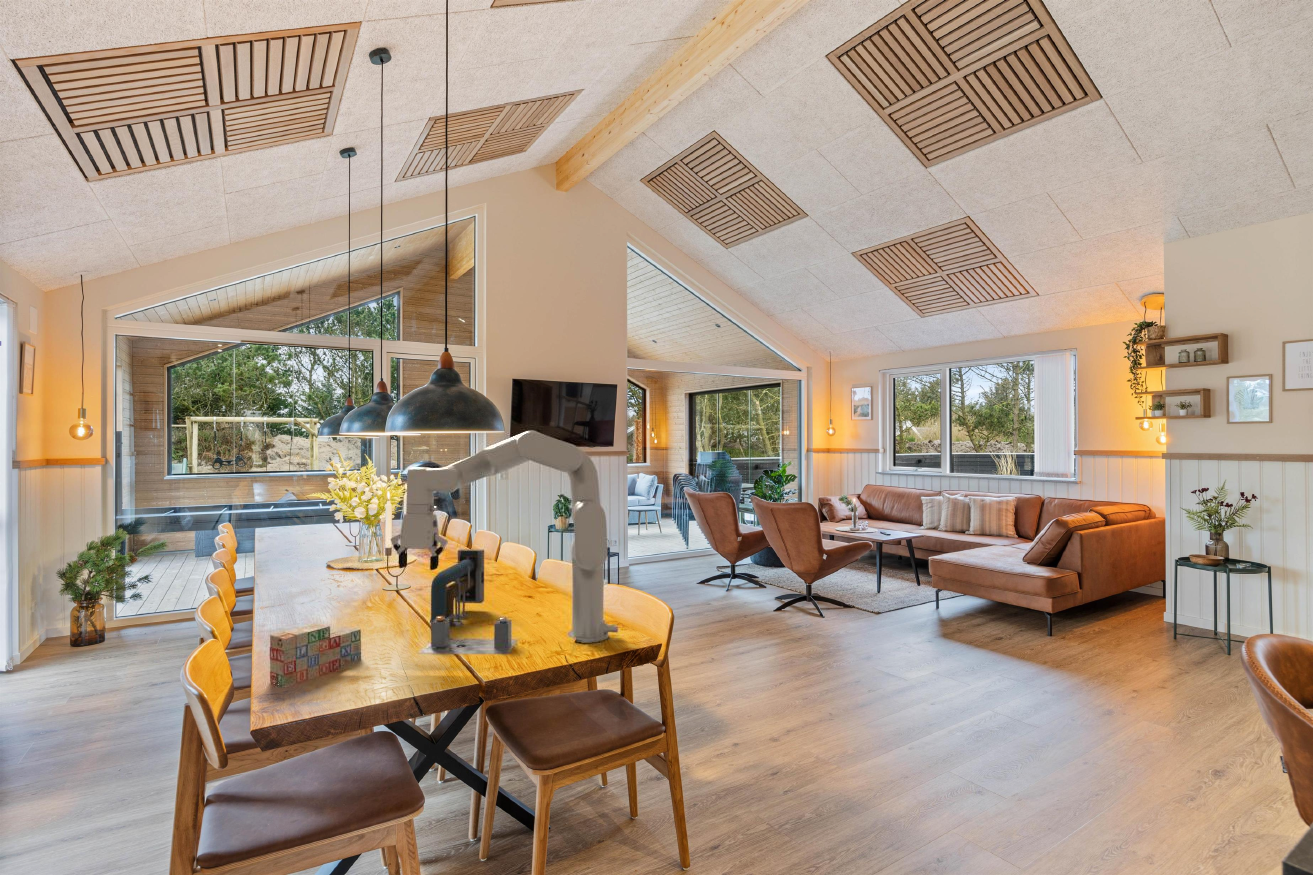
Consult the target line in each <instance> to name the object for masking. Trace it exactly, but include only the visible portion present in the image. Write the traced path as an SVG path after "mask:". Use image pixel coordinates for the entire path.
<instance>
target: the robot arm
mask: <svg viewBox="0 0 1313 875" xmlns="http://www.w3.org/2000/svg"><path fill="white" fill-rule="evenodd" d="M530 461H532V462H533V463H536V464H540V465H542V466H544V467H548V468H551V469H554V470H556V471H560V472H562V473H567V475H568V477H569V480H570V488H571V489H570V490H571V519H572V522H573V531H574V532H573V533H574V541H573V544H572V546H571V566H572V567H571V571H572V573H571V574H572V586H571V588H572V592H571V593H572V594H571V595H572V597H571V598H572V602H571V603H572V604H571V606H572V609H571V610H572V615H571V616H572V618H571V620H572V621H571V622H572V625H571V626H572V630H570V631H568V632H567V637H568V638H571V639H575V640H574V642H575V643H579V642H581V644H590V643H593V642H594V643H599V641H600V642H604V641H605V640H608V638H609V633H615V634H617V633H619V626H618V625H615V624H607V623H606V620H605V619H604V588H605V587H604V585H605V584H604V583H605V582H604V581H605V580H604V579H605V577H604V576H605V574H604V564H606V561H607V558H608V527H607V526H608V525H607V517H606V513H605V509H604V508H603V506H602V505H601V500H600V498H601V496H600V484H599V476H598V471H597V468H596V464H595V463H594V461H593V460H592V458H591V457H590V456H589V455H588V454H587V453H586V452H585V451H584V450H582V449H580V448H579V447H578V446H577V445H575V444H572V443H569V442H567V441H563V440H559V439H557V438H555V437H551V436H549V435H546V434H543V433H541V432H539V431H537V430H527V431H524V432H521V433H519V434H516V435H514V436H511V437H510V438H508V439H504V440H501V441H500V442H497V443H495V444H492V445H489V446H488V447H485V448H483V449H482V450H480V451H479V452H477V453H475V454H474V455H470V456H468V457H466V458H463V459H462V460H459V461H456V462H454V463H451V464H449V465H446V466H444V467H438V468H433V467H427V466H414V467H413V466H412V467H410V468H409V469H408V470H407V474H406V508H405V509H406V510H405V512H406V513H403V514H404V515H403V517H402V522H401V529H400V533H399V534H397V535H395V536H393V537H391V538H390V541H391V545H393V546H392V548H393V549H394V550H395V551H396V554H397V555H398V568H399V569H404V568H405V567H408V553H407V551H408V549H412V550H428V551H429V553H430V554H431V555H430V558H429V560H430V561H429V570H430V571H434V570H437V569H438V567H439V559H440V558H439V557H440V555H441V553H443V551H444V550H445V548H446V547H447V545H448V540H447V539H445V538H443V537H442V536H440V535H439V524H438V517H437V514H436V513H435V512H438V506H435V503H434V502H435V497H434V496H435V493H441V494H449V493H450V494H451V493H454V492H455V491H456V490H458V489H460V488H462V487H465V486H466V485H469V484H471V483H473V482H476V481H479V480H481V479H484V478H487V477H492V476H496V475H499V474H502V473H503V472H506V471H509V470H511V469H514V468H515V467H517V466H520V465H522V464H525V463H528V462H530ZM399 542H400V543H399ZM438 546H439V547H438ZM594 643H593V644H594Z"/></svg>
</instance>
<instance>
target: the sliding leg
mask: <svg viewBox="0 0 1313 875" xmlns="http://www.w3.org/2000/svg"><path fill="white" fill-rule="evenodd" d="M430 630H431V631H430V642H431V647H446V646H447V645H448V644H449V640H450V639H451V637H450V619H445V616H437V617H436V619H435V620H433V621H432V622H431V623H430Z"/></svg>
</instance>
